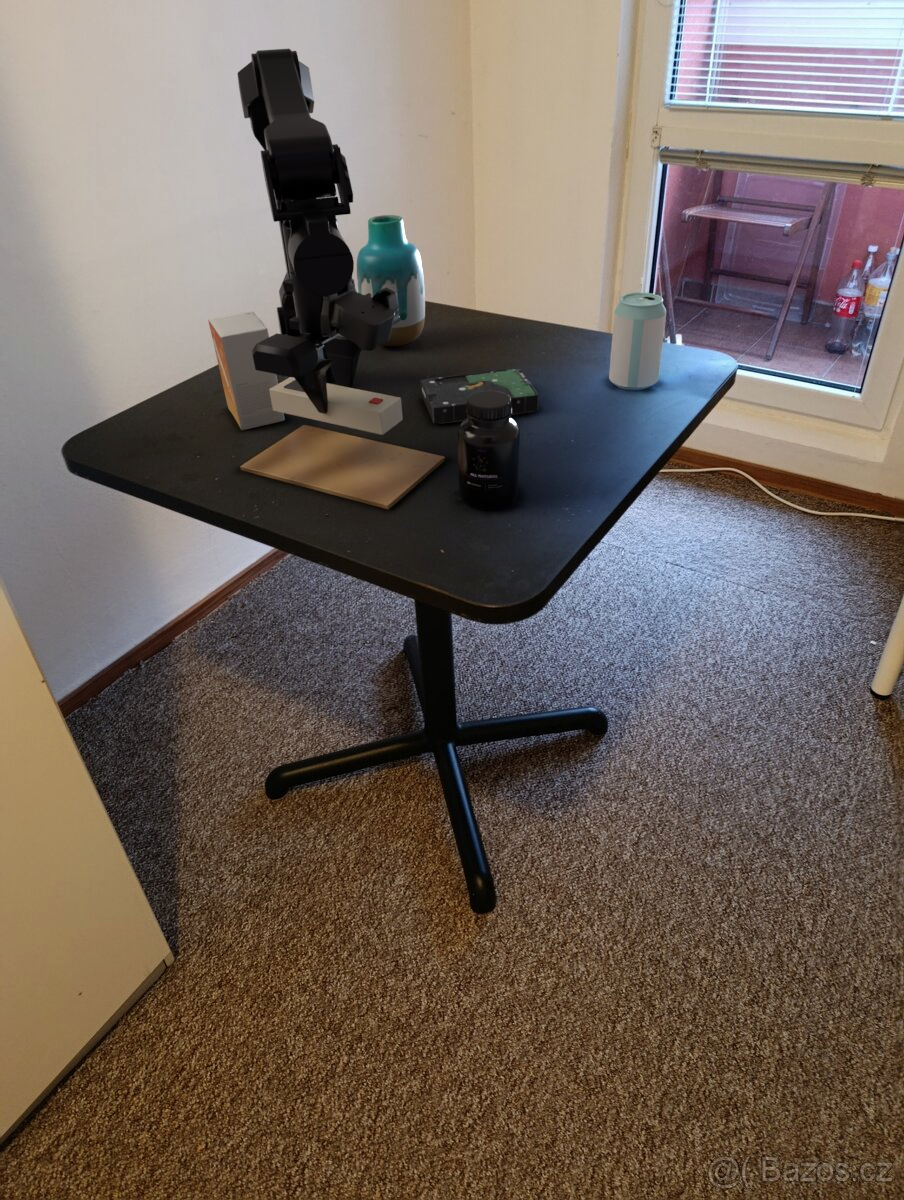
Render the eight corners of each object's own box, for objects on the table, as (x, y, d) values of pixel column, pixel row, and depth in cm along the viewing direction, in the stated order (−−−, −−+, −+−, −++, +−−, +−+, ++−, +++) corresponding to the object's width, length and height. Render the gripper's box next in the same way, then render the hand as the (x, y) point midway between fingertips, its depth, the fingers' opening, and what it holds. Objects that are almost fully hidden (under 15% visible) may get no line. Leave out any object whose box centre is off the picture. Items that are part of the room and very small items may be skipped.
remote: (272, 410, 98) (268, 387, 96) (295, 397, 101) (291, 374, 99) (382, 435, 92) (380, 410, 90) (402, 420, 95) (400, 395, 93)
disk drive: (434, 428, 108) (540, 412, 110) (432, 408, 107) (540, 393, 109) (420, 397, 116) (519, 383, 118) (418, 379, 115) (519, 365, 117)
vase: (363, 334, 138) (350, 213, 126) (424, 329, 138) (417, 208, 127) (364, 357, 129) (350, 229, 118) (430, 352, 130) (422, 224, 118)
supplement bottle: (474, 517, 89) (471, 417, 82) (450, 490, 94) (445, 393, 87) (529, 503, 91) (531, 404, 84) (502, 477, 97) (502, 381, 89)
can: (611, 371, 121) (618, 289, 113) (659, 374, 119) (669, 291, 112) (605, 390, 115) (612, 305, 108) (656, 393, 114) (666, 307, 106)
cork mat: (240, 470, 101) (239, 466, 100) (304, 428, 109) (304, 424, 109) (388, 509, 92) (388, 505, 91) (445, 460, 100) (444, 456, 100)
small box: (227, 409, 115) (207, 318, 107) (270, 400, 117) (253, 310, 109) (240, 431, 110) (219, 336, 102) (285, 421, 111) (268, 327, 104)
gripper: (324, 303, 77) (344, 451, 86) (425, 253, 89) (432, 387, 99) (235, 290, 81) (264, 432, 91) (343, 244, 94) (358, 373, 103)
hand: (334, 405), depth 96 cm, fingers closed on remote, 4 cm apart
